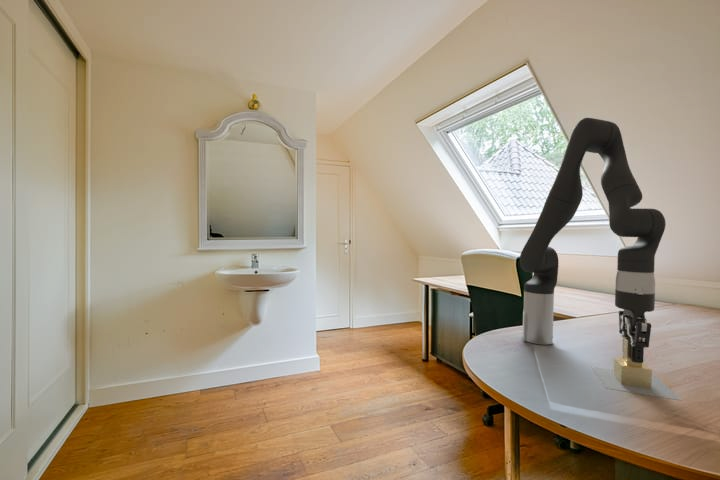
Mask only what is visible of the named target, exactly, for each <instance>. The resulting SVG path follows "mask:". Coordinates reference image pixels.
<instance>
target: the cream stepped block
mask: <svg viewBox="0 0 720 480" xmlns="http://www.w3.org/2000/svg"><path fill="white" fill-rule="evenodd" d="M639 341H641V339H640V338H639ZM613 358H614V359H613V370H614V376H615V377H616V378H617V380H618V381H619V382H620V383H621V384H623V385H629V386H636V387H642V388H649V389H651V381H652V375H653V369H652V368H651V367H649V365H647V364H646V363H645V362H644V361H643V363H636V362H633V361H631V338H630V337H623V338H622V358H619V357H613Z"/></svg>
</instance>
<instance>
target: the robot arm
mask: <svg viewBox="0 0 720 480" xmlns="http://www.w3.org/2000/svg"><path fill="white" fill-rule="evenodd" d="M566 144H567V145H566V148H565V150H564V153H563V158H562V160H561V164H560V167H559V170H558V172H557V174H556V177H555V179H554V182H553V184H552V186H551V189H550V191H549V193H548V194H547V196H546V200H545V202H544V205H543V207H542V211H541V212H540V215H539V217H538V219H537V221H536V224H535V226H534V228H533V230H532V232H531V234H530V236H529V237H528V238H527V241H526V243H525V244H524V246H523V248H522V250H521V252H520V255H519V265H520V267H521V269H522V270H523V271H524V272H526V273H531V274H533V276H532V277H531V278H530V279H529V280H528V281H526V282H525V283H524V286H523V310H522V340H523V342H527V343H531V344H535V345H544V346H545V345H551V344H553V343H554V341H553V339H554V310H555V309H554V304H555V303H554V302H555V301H554V300H555V288H556V287H557V283H558V274H559V256H558V253H557V251H556V250H555V249H554V248H553V247H551V246H550V243H551V242H552V240H553V238H554V237H555V236H556V235H557V234H558V233H559V232H560V231H561V230H562V229H563V228H564V227H566V225H567V224H569V223H570V221H571V220H572V219H573V218H574V216H575V214H576V212H577V211H578V208H579V206H580V204H581V201H582V199H583V195H584V194H583V193H584V192H583V185H582V179H581V166H582V163H583V160H584V157H585V154H586V153H593V154H598V155H599V156H600V158H601V159H602V160H603V162H604V168H603V170H602V174H601V176H600V185H601V188H602V191H603V193H604V195H605V198H606V200H607V202H608V212H609V214H608V215H609V217H608V219H609V220H608V222H609V223H608V224H609V228H610V230H611V231H612V232H613V234H615V235H616V236H617V237H618V236H619V237H622V238H636V240H635V242H634V244H633V245H630V246H624V247H620V248H619V250H618V252H617V269H616V275H615V286H614V287H615V289H614V290H615V292H614V293H615V295H614V306H615V307H617V308H618V309H621V310H619V311H618V322H619V323H618V326H619V330H618V332H619V334H620V335H621V337H622V339H623V337H630V338H631V361H633V362H636V363H643V362H644V349H646V348H650V340H651V332H652V331H651V330H652V324H651V322H647V321H648V320H647V318H646V315H645V313H650V312H653V311H654V310H655V304H656V303H655V301H656V299H655V298H656V279H655V261H656V260H655V259H656V258H655V257H656V253H657V250H658V249H659V245H660V242H662V237H663V235H664V233H665V230H666V218H665V215H664V214H663V213H662V212H661V211H660V210H658V209H655V208H633V207H635V206H637V205H638V204H640V203H641V202H642V200H643V192H642V191H641V188H640V186H639V185H638V183H637V182H638V181H636V178H635V177H634V175H633V173H632V170H631V168H630V166H629V162H628V158H627V154H626V149H625V146H624V141H623V136H622V133H621V130H620V128H619V126H618V125H617V123H615V122H613V121H609V120H604V119H599V118H593V117H584V118H582V119H580V120H579V121H578V122H577V123H576V124H575V126H574V127H573V129H572V132H571V133H570V136H569V138H568V142H567V143H566ZM639 338H640V339H641V341H639Z"/></svg>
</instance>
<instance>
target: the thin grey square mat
mask: <svg viewBox="0 0 720 480" xmlns="http://www.w3.org/2000/svg"><path fill="white" fill-rule="evenodd" d="M591 369H592V370H593V372H594V373H595V375H596V376H597V377H598V379H599V381H600V382H601V384H602V385H603V387H604V388H605V389H607V390H608V389H609V390H615V391H620V392H627V393H632V394H640V395H644V396H646V395H647V396H651V397H657V398H662V399H663V398H665V399H670V400H677V401H682V402H683V400H682V399H681V398H680V397H679V396H678V395H677V394H676V393H675V392H674V391H673V390H671V388H669V386H668V385H666V384H665V383H664V382H663V381H662V380H661V379H660V378H659V377H657V375H654V374H652V381H651V389H649V388H642V387H636V386H629V385H623V384H621V383H620V382H619V381H618V380H617V378H616V377H615V376H614V369H610V368H605V367H604V368H603V367H596V366H591Z"/></svg>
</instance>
